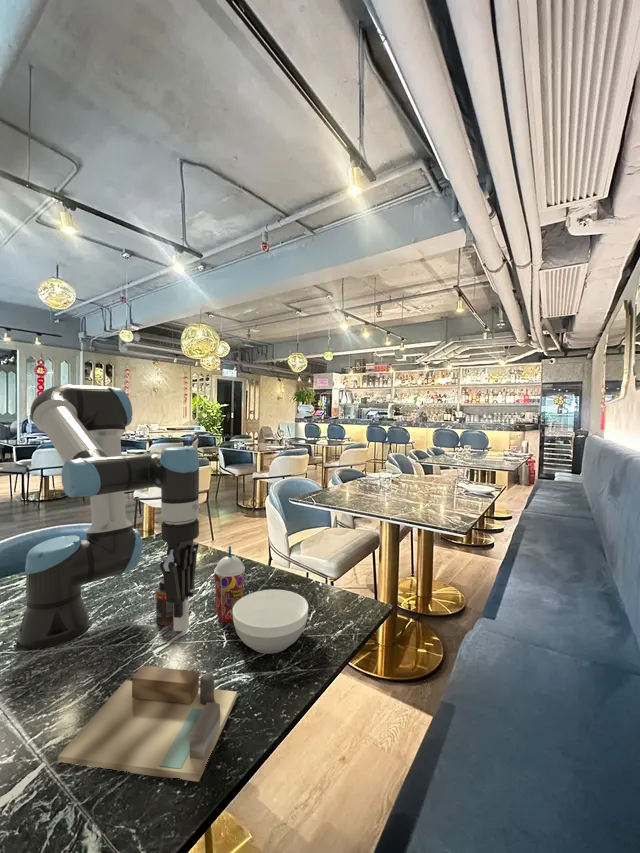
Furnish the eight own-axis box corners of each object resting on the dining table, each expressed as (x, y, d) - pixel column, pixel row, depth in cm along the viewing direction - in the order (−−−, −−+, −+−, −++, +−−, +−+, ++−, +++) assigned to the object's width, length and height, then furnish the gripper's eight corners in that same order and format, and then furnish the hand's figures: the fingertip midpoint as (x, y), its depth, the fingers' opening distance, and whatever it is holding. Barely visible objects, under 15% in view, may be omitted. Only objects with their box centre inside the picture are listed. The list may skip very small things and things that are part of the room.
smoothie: (237, 627, 103) (237, 553, 103) (208, 623, 105) (208, 550, 104) (249, 611, 112) (249, 542, 111) (222, 608, 113) (222, 540, 113)
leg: (198, 690, 78) (198, 671, 78) (190, 704, 74) (190, 683, 74) (142, 684, 79) (142, 665, 79) (132, 697, 76) (131, 677, 76)
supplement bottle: (184, 617, 108) (184, 577, 107) (167, 628, 102) (167, 586, 102) (168, 613, 110) (168, 573, 110) (151, 623, 105) (151, 582, 104)
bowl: (316, 657, 92) (317, 620, 91) (235, 671, 86) (235, 632, 86) (298, 616, 110) (298, 585, 109) (229, 625, 104) (230, 593, 104)
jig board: (57, 763, 63) (57, 730, 63) (125, 685, 81) (125, 659, 81) (198, 781, 60) (199, 747, 60) (236, 697, 78) (237, 670, 78)
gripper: (182, 529, 76) (183, 648, 76) (209, 512, 88) (210, 614, 89) (146, 528, 76) (147, 645, 77) (178, 511, 89) (179, 612, 90)
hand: (181, 628), depth 83 cm, fingers closed
